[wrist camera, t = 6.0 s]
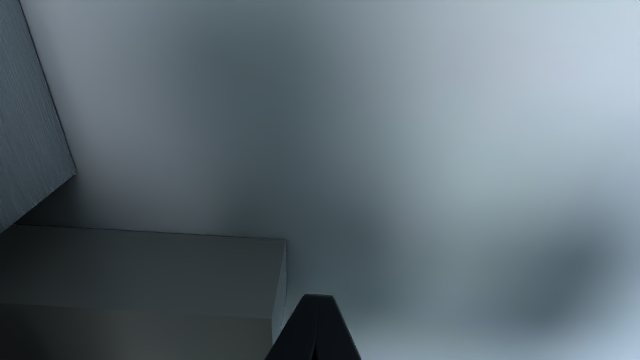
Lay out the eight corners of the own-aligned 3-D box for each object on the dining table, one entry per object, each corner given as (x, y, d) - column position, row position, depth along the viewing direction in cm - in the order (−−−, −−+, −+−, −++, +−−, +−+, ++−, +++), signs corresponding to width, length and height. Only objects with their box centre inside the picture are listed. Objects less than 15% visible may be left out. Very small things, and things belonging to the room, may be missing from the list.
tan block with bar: (286, 311, 12) (270, 420, 9) (-128, 286, 12) (-272, 386, 9) (285, 215, 10) (265, 316, 7) (-205, 188, 10) (-414, 275, 7)
